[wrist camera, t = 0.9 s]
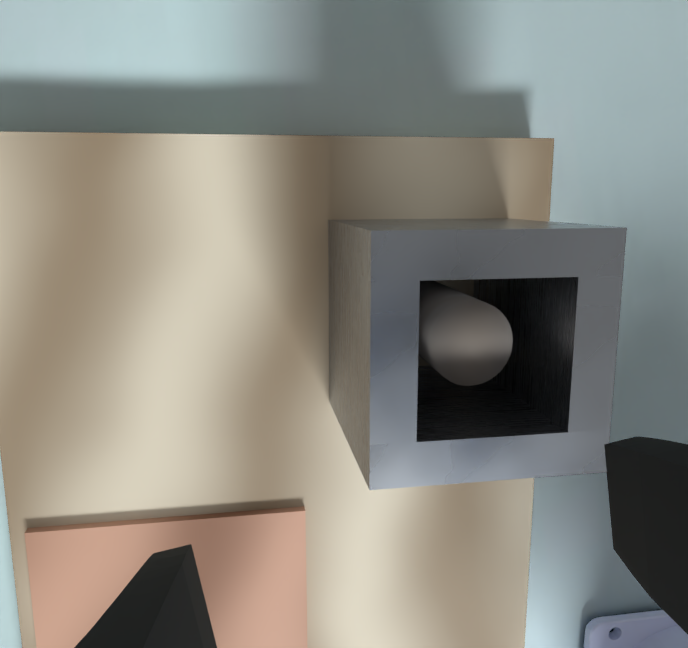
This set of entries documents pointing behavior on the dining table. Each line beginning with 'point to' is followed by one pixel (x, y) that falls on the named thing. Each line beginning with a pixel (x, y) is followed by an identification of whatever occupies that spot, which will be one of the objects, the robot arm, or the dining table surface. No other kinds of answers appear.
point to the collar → (510, 383)
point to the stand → (241, 386)
